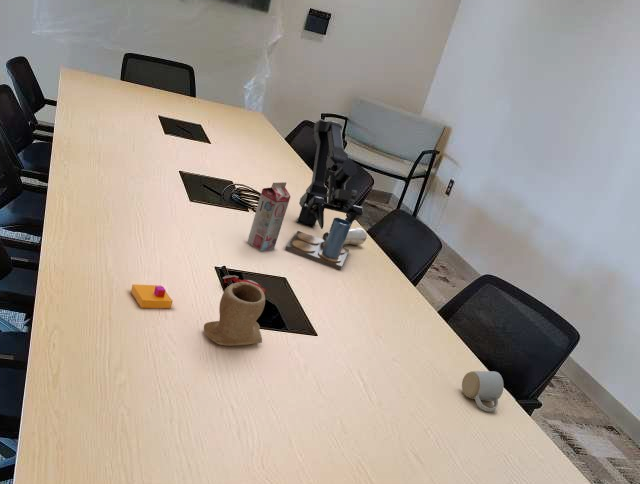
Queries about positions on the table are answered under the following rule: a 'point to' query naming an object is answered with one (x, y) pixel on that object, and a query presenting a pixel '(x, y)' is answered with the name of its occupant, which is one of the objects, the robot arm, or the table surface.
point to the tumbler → (336, 238)
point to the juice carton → (269, 217)
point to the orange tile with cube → (151, 296)
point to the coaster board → (314, 250)
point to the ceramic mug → (483, 387)
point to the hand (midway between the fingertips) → (334, 231)
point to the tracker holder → (240, 281)
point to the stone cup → (238, 316)
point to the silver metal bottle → (352, 236)
